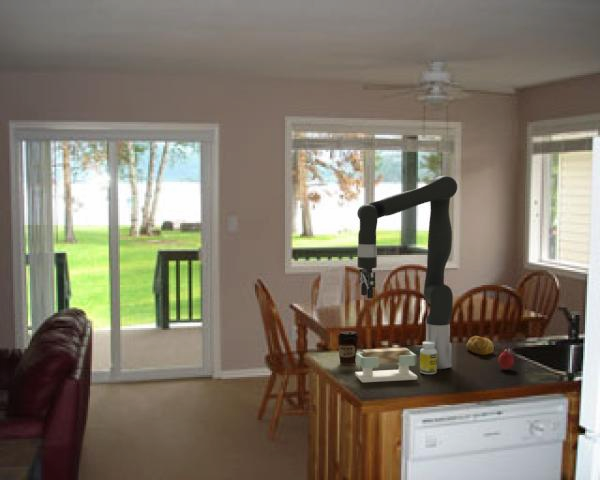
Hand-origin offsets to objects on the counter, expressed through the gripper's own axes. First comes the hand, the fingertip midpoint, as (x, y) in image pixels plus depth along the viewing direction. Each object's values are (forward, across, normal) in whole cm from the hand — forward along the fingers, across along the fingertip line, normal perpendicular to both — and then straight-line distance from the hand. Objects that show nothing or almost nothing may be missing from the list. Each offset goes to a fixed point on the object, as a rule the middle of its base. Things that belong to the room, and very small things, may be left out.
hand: (366, 296), depth 255 cm
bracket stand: (+28, -15, -3) cm, 32 cm away
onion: (+28, -14, -52) cm, 61 cm away
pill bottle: (+28, -12, -21) cm, 37 cm away
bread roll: (+28, +14, -55) cm, 63 cm away
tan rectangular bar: (+22, -15, -3) cm, 27 cm away
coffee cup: (+28, +6, +6) cm, 30 cm away
